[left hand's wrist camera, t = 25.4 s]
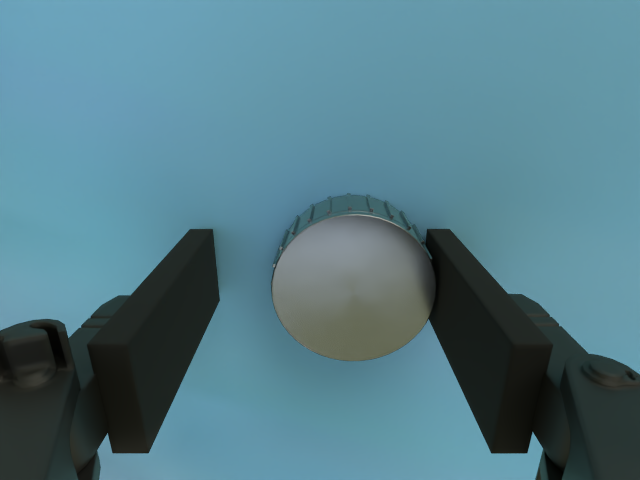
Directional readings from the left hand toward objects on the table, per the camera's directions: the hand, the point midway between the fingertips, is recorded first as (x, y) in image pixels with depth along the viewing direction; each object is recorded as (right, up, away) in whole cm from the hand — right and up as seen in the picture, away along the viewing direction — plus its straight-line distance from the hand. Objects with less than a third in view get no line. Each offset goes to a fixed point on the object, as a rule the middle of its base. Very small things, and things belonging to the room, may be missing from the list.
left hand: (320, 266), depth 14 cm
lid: (+1, -1, -1) cm, 2 cm away
